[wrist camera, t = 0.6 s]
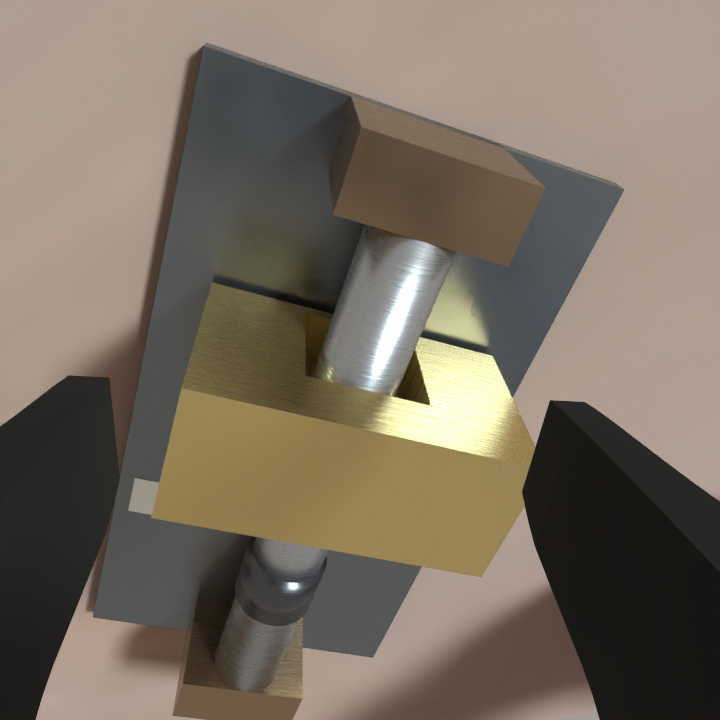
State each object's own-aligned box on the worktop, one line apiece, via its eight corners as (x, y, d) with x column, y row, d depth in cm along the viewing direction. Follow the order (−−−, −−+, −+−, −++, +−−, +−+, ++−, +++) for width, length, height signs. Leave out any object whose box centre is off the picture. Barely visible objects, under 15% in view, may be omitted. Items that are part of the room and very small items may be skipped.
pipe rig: (615, 183, 19) (689, 237, 16) (371, 644, 30) (381, 743, 26) (206, 43, 17) (178, 67, 13) (96, 604, 27) (63, 707, 23)
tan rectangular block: (492, 356, 21) (546, 469, 16) (445, 450, 23) (481, 577, 18) (212, 282, 19) (181, 388, 14) (185, 392, 21) (151, 518, 16)
